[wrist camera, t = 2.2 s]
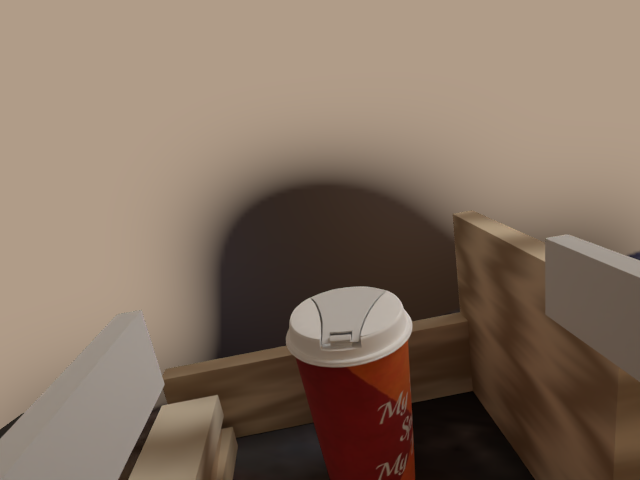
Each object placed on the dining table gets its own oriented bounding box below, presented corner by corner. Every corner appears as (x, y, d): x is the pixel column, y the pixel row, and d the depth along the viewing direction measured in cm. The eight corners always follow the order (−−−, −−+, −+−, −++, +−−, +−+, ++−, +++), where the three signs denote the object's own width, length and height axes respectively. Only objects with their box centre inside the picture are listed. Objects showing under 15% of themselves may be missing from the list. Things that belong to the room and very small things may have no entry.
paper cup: (439, 547, 23) (415, 339, 19) (312, 543, 25) (266, 349, 21) (425, 442, 31) (406, 276, 27) (328, 444, 32) (296, 287, 28)
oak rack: (637, 576, 20) (660, 294, 16) (102, 691, 20) (-33, 428, 15) (481, 376, 37) (471, 210, 32) (187, 434, 36) (134, 272, 32)
